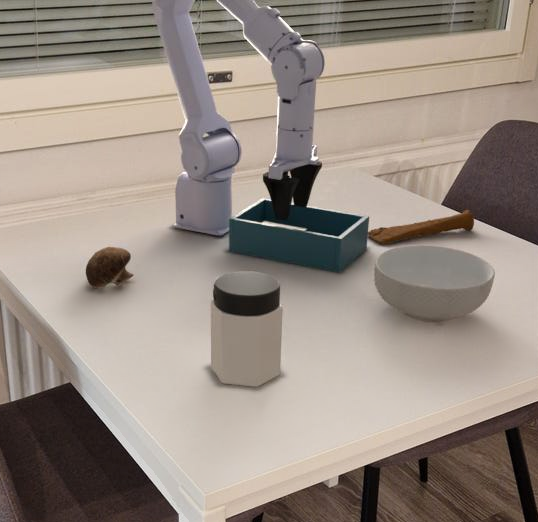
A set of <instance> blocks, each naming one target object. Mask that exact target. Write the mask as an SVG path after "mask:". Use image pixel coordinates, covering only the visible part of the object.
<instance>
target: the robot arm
mask: <svg viewBox="0 0 538 522" xmlns="http://www.w3.org/2000/svg"><path fill="white" fill-rule="evenodd" d="M195 1H196V0H151V2H152V12H153V16H154V20H155V22H156V27H157V29H158V33H159V36H160V40H161V43H162V46H163V50H164V52H165V56H166V60H167V63H168V67H169V70H170V74H171V77H172V81H173V84H174V87H175V90H176V93H177V98H178V101H179V104H180V107H181V111H182V114H183V117H184V120H185V121H184V125H183V127H182V129H181V130H180V132H179V134H178V137H177V138H178V141H179V145H180V163H181V166H182V168H183V170H184V171H183V172H182V173H180V175H179V176H178V178H177V180H176V183H175V193H174V195H175V196H174V197H175V199H174V200H175V223H174V224H173V227H174V228H175V229H180V230H181V229H182V230H188V231H192V232H197V233H201V234H208V235H212V236H217V237H221V236H224V235H225V234H227V233H229V219H230V218H231V217H233V175H234V174H235V167H236V166H237V165H238V164H239V163H240V161H241V158H242V145H241V142H240V140H239V138H238V137H237V136H236V134H235V133H234V131H233V129H232V125H231V123H230V121H229V120H228V119H227V118H225V116H223V115H221V114H220V113H219V112H218V110H217V107H216V103H215V100H214V96H213V93H212V88H211V86H210V81H209V78H208V75H207V71H206V68H205V64H204V61H203V58H202V57H203V56H202V53H201V51H200V47H199V43H198V39H197V37H196V36H197V35H196V33H195V29H194V25H193V22H192V19H191V16H190V12H191V9H192V8H193V5H194V4H195ZM215 1H216V2H217V3H218V4H220V5H221V6H222V7H223V8H224V9H225V10H226V11H227V12H229V13H230V15H232V16H233V17H234V18H235V19H236V20H237V21H238V22H239V23H241V24H242V33H243V34H242V35H243V37H244V39H246V40H247V42H248V43H250V45H251V46H252V47H253V48H254V49H255V50H256V51H257V52H258V53H259V54H260V55H261V56H262V57H263V59H265V61H267V62H268V64H270V70H271V75H272V77H273V79H274V81H275V84H276V94H277V119H276V143H275V154H274V156H273V159H272V162H271V164H269V165H268V171H266V172H265V173H263V174H262V182H263V183H264V185H265V187H266V190H267V192H268V195H269V197H270V198H269V199H271V202H272V207H273V212H274V216H275V219H280V220H285V221H286V220H288V218H289V214H290V209H291V203H294V206H300V207H307V206H308V205H309V201H310V197H311V194H312V190H313V187H314V184H315V181H316V179H317V177H318V175H319V174H320V173H319V172H320V171H321V169H322V167H323V162H322V161H320V160H319V157H318V154H317V153H318V145H313V142H314V128H315V127H314V126H315V125H314V124H315V108H316V93H317V90H316V89H317V80H318V79H319V78H321V76H322V75H323V73H324V70H325V65H326V64H325V63H326V62H325V55H324V53H323V51H322V49H321V47H320V46H319V45H318V43H317V42H316V41H314V40H310V39H306V40H305V39H303V38H302V35H301V33H299V32H298V31H294V30H293V28H291V27H290V26H289V25H288V24H287V23H286V22H285V21H284V19H283V18H282V17H280V16H281V11H279V10H278V9H277V8H276V7H274V8H272V7H270V6H268V5H264V6H258V4H257V3H256V2H255V0H215Z"/></svg>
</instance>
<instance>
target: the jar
mask: <svg viewBox="0 0 538 522" xmlns="http://www.w3.org/2000/svg"><path fill="white" fill-rule="evenodd" d="M212 298H213V299H211V300H210V368H211V369H212V371H213V372H214V374H215V376H216V377H217V378H218V380H219V381H220V382H221V384H223V385H225V384H226V385H235V386H243V387H253V388H258V387H260V386H262V385H263V384H266V383H267V382H269V381H271V380H272V379H275V378H276V377H278V376H280V375H281V359H282V336H283V335H282V334H283V312H284V308H283V306H282V305H281V283H280V281H279V279H278V278H276V277H274V276H272V275H271V274H267V273H264V272H259V271H251V270H249V271H248V270H243V271H242V270H241V271H233V272H227V273H224V274H222V275H220V276H218V277H217V278H216V279H215V280H214V281H213V288H212Z"/></svg>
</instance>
